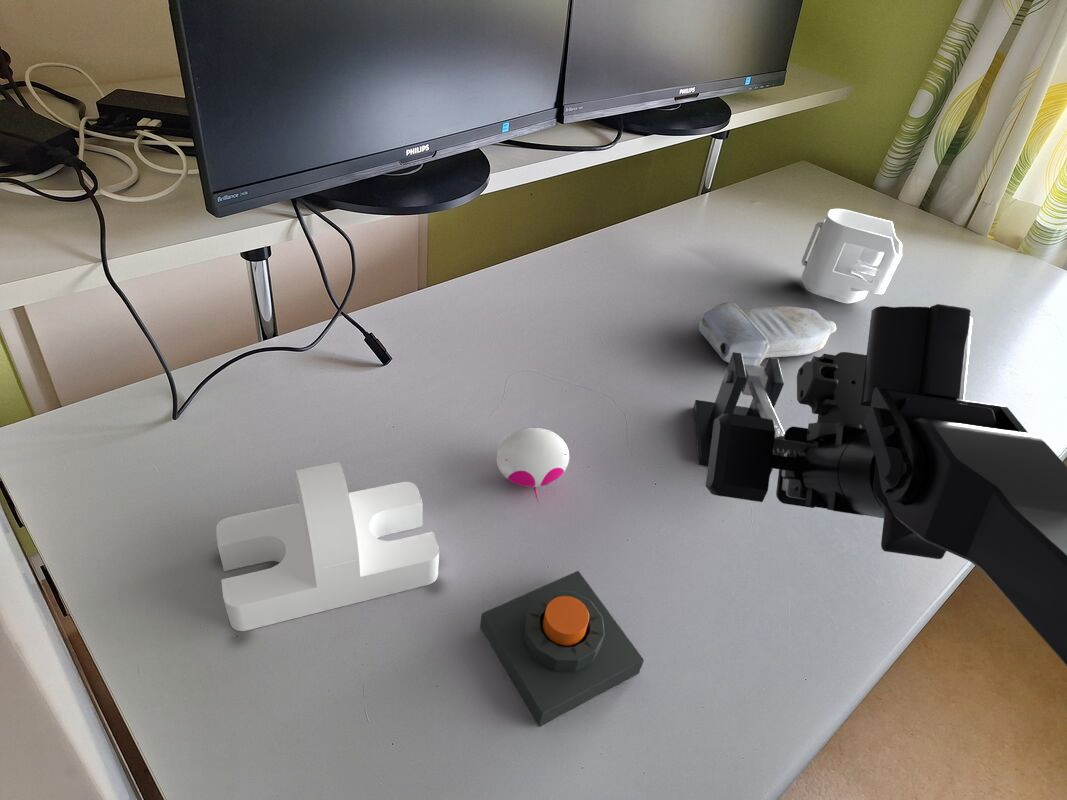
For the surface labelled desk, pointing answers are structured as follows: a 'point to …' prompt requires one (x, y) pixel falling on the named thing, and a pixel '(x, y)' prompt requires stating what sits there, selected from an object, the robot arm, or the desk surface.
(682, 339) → the desk surface
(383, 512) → the white slotted mount
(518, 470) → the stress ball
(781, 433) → the lever
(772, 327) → the handheld device
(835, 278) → the white plastic holder
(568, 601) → the button
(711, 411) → the bracket
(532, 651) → the button box
